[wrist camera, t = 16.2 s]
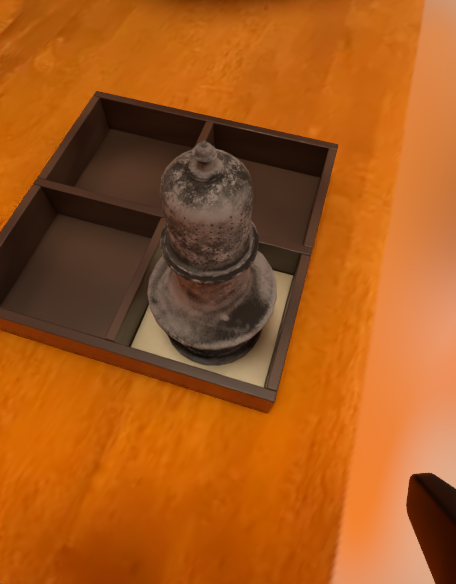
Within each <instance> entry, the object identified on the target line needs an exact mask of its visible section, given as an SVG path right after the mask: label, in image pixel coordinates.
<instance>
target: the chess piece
mask: <svg viewBox="0 0 456 584" xmlns="http://www.w3.org/2000/svg"><path fill="white" fill-rule="evenodd" d="M159 193H160V198H161V203H162V207H163V212H164V216H165V221H166V224H165V226H164V228H163V230H162V232H161V239H160V247H161V252H162V257H161V258H160V259H159V260H158V262H157V263H156V264H155V266H154V269H153V271H152V273H151V275H150V278H149V284H148V291H147V294H148V300H149V307H150V310H151V312H152V314H153V316H154V318H155V320H156V322H157V324H158V325H159V326H160V327H161V328H162V329H163V330H164V331H165V332H166V334H167V335H168V337H169V339H170V341H171V343H172V345H173V346H174V347H175V348H176V350H177V351H178V352H179V353H180V354H181V355H183V356H184V357H186V358H188V359H189V360H191V361H193V362H196V363H200V364H203V365H217V366H219V365H223V364H228V363H232V362H234V361H236V360H238V359H240V358H241V357H243V356H245V355H246V354H247V353H248V352H249V351H250V350H251V349H252V348H253V347H254V345H255V344H256V342H257V341H258V339H259V337H260V335H261V331H262V328H263V327H264V326H265V324H266V323H267V321H268V319H269V318H270V316H271V315H272V313H273V309H274V305H275V302H276V298H277V285H276V279H275V276H274V273H273V270H272V267H271V266H270V264H269V263H268V261H267V260H266V258H265V257H264V255H262V254H261V253H260V252H259V251H258V249H259V236H258V233H257V230H256V227H255V225H254V224H253V222H252V221H251V214H252V204H253V183H252V179H251V176H250V173H249V171H248V170H247V168H246V167H245V166H244V164H243V163H242V162H240V161H239V160H238V159H237V158H235V157H234V156H233V155H231V154H229V153H227V152H225V151H223V150H218V149H216V148H215V147H214V146H212V145H211V144H210V143H208V142H207V141H205V140H202V141H201V142H200V143H198V144H197V146H195V147H194V148H193V149H192V150H190V151H187V152H184V153H183V154H181V155H179V156H178V157H176V158H175V159H174V160H173V161H172V162H171V163H170V164H169V165H168V166H167V167H166V169H165V171H164V172H163V174H162V176H161V183H160V191H159Z"/></svg>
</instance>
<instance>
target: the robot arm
mask: <svg viewBox="0 0 456 584" xmlns="http://www.w3.org/2000/svg"><path fill="white" fill-rule="evenodd" d="M406 506H407V513H408V517H409V519H410V521H411V524H412V526H413V529H414V531H415V534H416V537H417V539H418V542H419V544H420V546H421V549H422V551H423V554H424V556H425V559H426V561H427V564H428V566H429V569H430V571H431V574H432V576H433V579H434V581H435V584H456V489H455V488H454V487H452V486H451V485H449V484H448V483H446V482H445V481H443V480H442V479H440V478H439V477H437V476H436V475H434V474H432V473H420V474H413V475H412V476H411V477H410V480H409V488H408V496H407V504H406Z"/></svg>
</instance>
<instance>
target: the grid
mask: <svg viewBox="0 0 456 584" xmlns="http://www.w3.org/2000/svg"><path fill="white" fill-rule="evenodd" d="M202 140H205V141H207V142H208V143H210V144H211V145H212V146H214V147H215V148H216V149H218V150H223V151H225V152H227V153H229V154H231V155H233V156H234V157H235V158H237V159H238V160H239V161H240V162H242V163H243V164H244V166H245V167H246V168H247V170H248V171H249V173H250V176H251V179H252V183H253V204H252V214H251V221H252V222H253V224H254V225H255V227H256V230H257V233H258V236H259V249H258V251H259V252H260V253H261V254H262V255H264V257H265V258H266V260H267V261H268V263H269V264H270V266H271V267H272V270H273V273H274V276H275V279H276V285H277V298H276V302H275V305H274V309H273V313H272V315H271V316H270V318H269V319H268V321H267V323H266V324H265V326H264V327H263V328H262V331H261V335H260V337H259V339H258V341H257V342H256V344H255V345H254V347H253V348H252V349H251V350H250V351H249V352H248V353H247V354H246V355H245V356H243V357H241V358H240V359H238V360H236V361H234V362H232V363H228V364H223V365H219V366H217V365H203V364H200V363H196V362H193V361H191V360H189V359H188V358H186V357H184V356H183V355H181V354H180V353H179V352H178V351H177V350H176V348H175V347H174V346H173V345H172V343H171V341H170V339H169V337H168V335H167V334H166V332H165V331H164V330H163V329H162V328H161V327H160V326H159V325H158V324H157V322H156V320H155V318H154V316H153V314H152V312H151V310H150V307H149V300H148V294H147V291H148V284H149V278H150V275H151V273H152V271H153V269H154V266H155V264H156V263H157V262H158V260H159V259H160V258H161V257H162V252H161V247H160V239H161V232H162V230H163V228H164V226H165V224H166V221H165V216H164V212H163V207H162V203H161V198H160V193H159V191H160V183H161V176H162V174H163V172H164V171H165V169H166V167H167V166H168V165H169V164H170V163H171V162H172V161H173V160H174V159H175V158H176V157H178V156H179V155H181V154H183V153H184V152H187V151H190V150H192V149H193V148H194V147H195V146H197V144H198V143H200V142H201V141H202ZM337 148H338V144H334V143H329V142H325V141H320V140H315V139H311V138H306V137H302V136H297V135H293V134H288V133H284V132H279V131H275V130H270V129H266V128H261V127H257V126H252V125H248V124H243V123H239V122H234V121H230V120H225V119H221V118H216V117H212V116H207V115H203V114H198V113H194V112H189V111H185V110H180V109H176V108H171V107H166V106H162V105H157V104H153V103H148V102H144V101H139V100H135V99H130V98H126V97H121V96H117V95H112V94H108V93H103V92H99V91H96V92H95V94H94V96H93V97H92V98H91V100H90V101H89V103H88V104H87V106H86V107H85V109H84V110H83V111H82V113H81V114H80V116H79V117H78V119H77V120H76V122H75V123H74V125H73V126H72V128H71V129H70V131H69V132H68V134H67V135H66V136H65V138H64V139H63V141H62V142H61V144H60V145H59V147H58V148H57V150H56V151H55V153H54V154H53V156H52V157H51V159H50V160H49V161H48V163H47V164H46V166H45V167H44V169H43V170H42V172H41V173H40V175H39V176H38V178H37V179H36V180H35V182H34V183H33V184H34V185H32V186H31V188H30V189H29V191H28V192H27V194H26V195H25V197H24V198H23V200H22V201H21V203H20V204H19V206H18V207H17V209H16V210H15V211H14V213H13V214H12V216H11V217H10V219H9V220H8V222H7V223H6V225H5V226H4V228H3V229H2V231H1V232H0V330H2V331H5V332H9V333H12V334H15V335H18V336H21V337H25V338H28V339H31V340H34V341H37V342H41V343H44V344H47V345H50V346H53V347H57V348H60V349H63V350H66V351H69V352H73V353H76V354H79V355H82V356H85V357H89V358H92V359H95V360H98V361H101V362H105V363H108V364H111V365H114V366H117V367H121V368H124V369H127V370H130V371H133V372H137V373H140V374H143V375H146V376H149V377H153V378H156V379H159V380H162V381H165V382H169V383H172V384H175V385H178V386H181V387H185V388H188V389H191V390H194V391H197V392H201V393H204V394H207V395H210V396H213V397H217V398H220V399H223V400H226V401H229V402H233V403H236V404H239V405H242V406H245V407H249V408H252V409H255V410H258V411H261V412H265V413H268V412H269V410H270V409H271V407H272V405H273V404H274V402H275V399H276V395H277V390H278V387H279V383H280V379H281V375H282V371H283V366H284V362H285V358H286V354H287V350H288V346H289V342H290V338H291V334H292V330H293V326H294V322H295V318H296V314H297V310H298V306H299V302H300V298H301V294H302V290H303V286H304V282H305V278H306V274H307V269H308V265H309V261H310V257H311V253H312V249H313V245H314V241H315V237H316V233H317V229H318V225H319V221H320V217H321V213H322V209H323V205H324V201H325V197H326V193H327V189H328V185H329V181H330V177H331V172H332V168H333V164H334V160H335V156H336V152H337Z"/></svg>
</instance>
